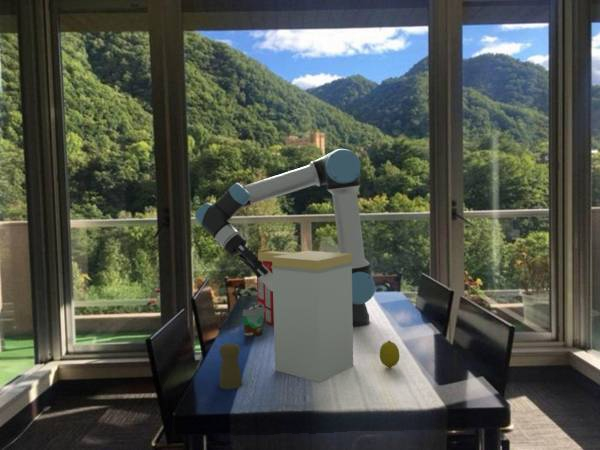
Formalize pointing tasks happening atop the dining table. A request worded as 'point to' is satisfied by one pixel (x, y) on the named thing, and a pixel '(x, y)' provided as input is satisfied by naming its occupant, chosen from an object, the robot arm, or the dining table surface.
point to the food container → (253, 320)
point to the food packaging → (266, 297)
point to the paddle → (304, 259)
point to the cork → (230, 367)
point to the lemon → (389, 354)
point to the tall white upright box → (313, 321)
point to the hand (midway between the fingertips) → (274, 285)
